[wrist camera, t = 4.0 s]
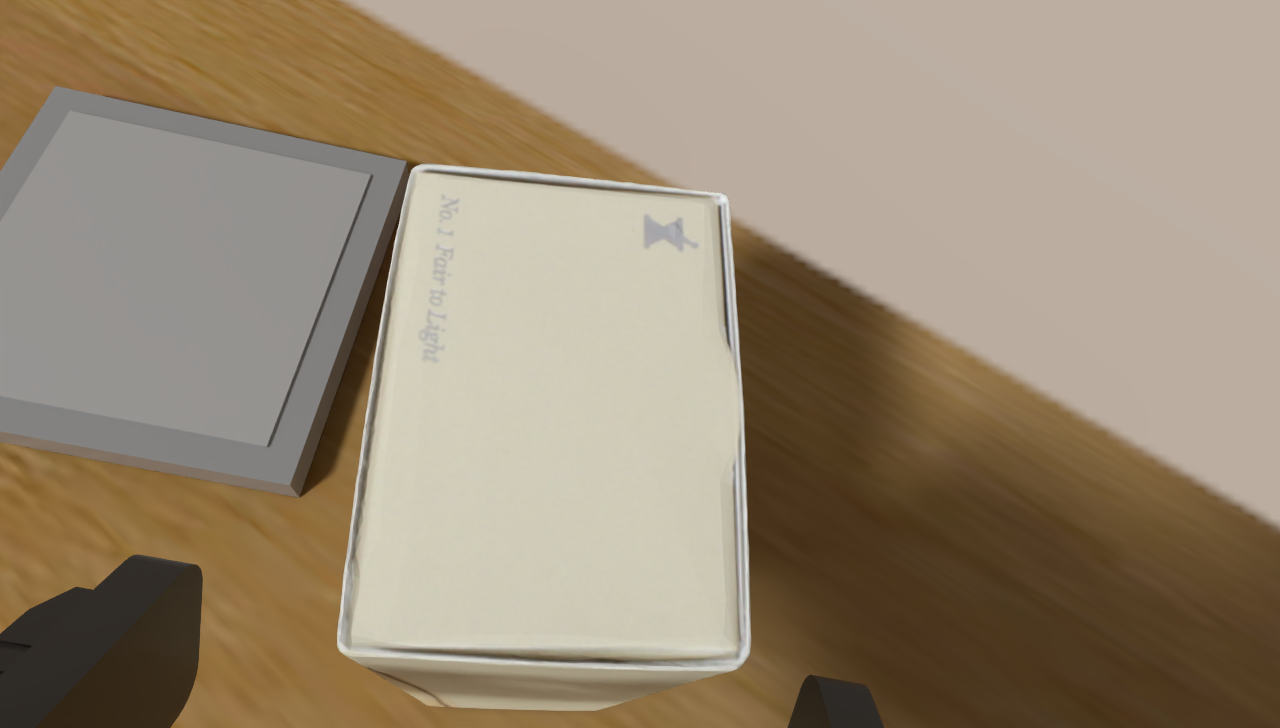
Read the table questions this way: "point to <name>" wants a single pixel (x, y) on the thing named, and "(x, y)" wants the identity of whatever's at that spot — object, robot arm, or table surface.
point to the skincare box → (552, 447)
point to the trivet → (183, 288)
